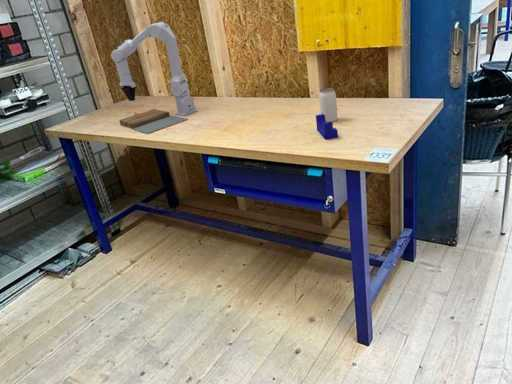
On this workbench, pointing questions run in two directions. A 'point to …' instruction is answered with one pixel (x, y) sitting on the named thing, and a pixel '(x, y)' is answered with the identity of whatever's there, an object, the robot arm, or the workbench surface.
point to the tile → (142, 113)
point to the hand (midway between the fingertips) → (132, 100)
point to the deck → (144, 119)
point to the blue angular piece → (326, 128)
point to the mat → (159, 124)
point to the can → (328, 104)
